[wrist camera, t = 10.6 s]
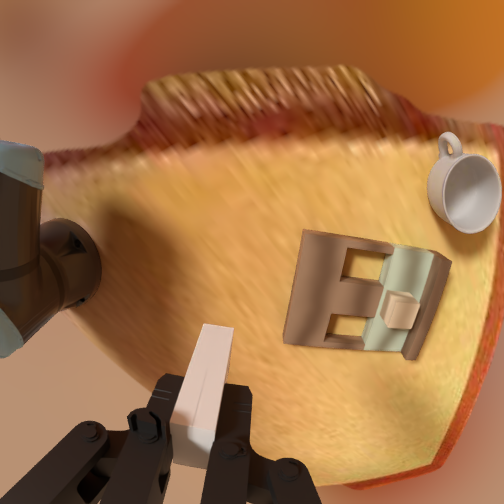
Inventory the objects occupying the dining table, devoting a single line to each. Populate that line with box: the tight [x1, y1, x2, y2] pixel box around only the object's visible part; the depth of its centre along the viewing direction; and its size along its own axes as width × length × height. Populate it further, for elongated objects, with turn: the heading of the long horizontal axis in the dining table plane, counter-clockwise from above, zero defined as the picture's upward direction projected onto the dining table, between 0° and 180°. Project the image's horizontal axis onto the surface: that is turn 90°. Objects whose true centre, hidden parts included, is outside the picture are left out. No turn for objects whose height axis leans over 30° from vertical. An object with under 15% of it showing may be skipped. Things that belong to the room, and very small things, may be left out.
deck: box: [283, 229, 452, 360], centre depth 42 cm, size 22×17×5 cm
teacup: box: [427, 132, 502, 234], centre depth 35 cm, size 14×11×8 cm
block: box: [379, 290, 420, 329], centre depth 40 cm, size 4×4×4 cm
